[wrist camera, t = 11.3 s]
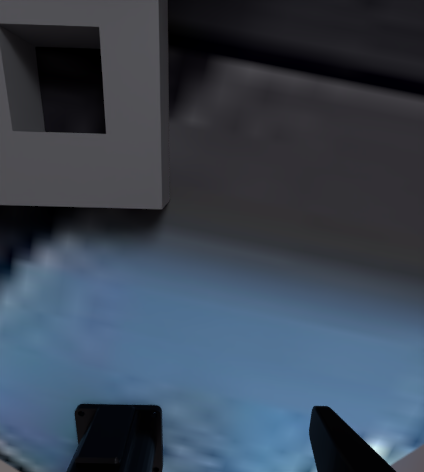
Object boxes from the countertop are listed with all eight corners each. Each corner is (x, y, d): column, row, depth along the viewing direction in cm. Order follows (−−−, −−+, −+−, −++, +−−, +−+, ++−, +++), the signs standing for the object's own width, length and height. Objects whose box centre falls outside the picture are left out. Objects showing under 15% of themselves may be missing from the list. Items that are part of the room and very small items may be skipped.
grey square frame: (169, 200, 18) (162, 209, 16) (9, 196, 18) (-29, 204, 15) (167, -30, 15) (156, -74, 12) (-28, -37, 15) (-84, -82, 12)
